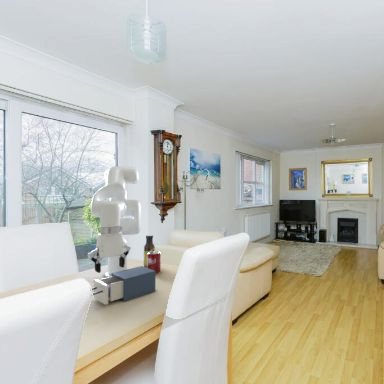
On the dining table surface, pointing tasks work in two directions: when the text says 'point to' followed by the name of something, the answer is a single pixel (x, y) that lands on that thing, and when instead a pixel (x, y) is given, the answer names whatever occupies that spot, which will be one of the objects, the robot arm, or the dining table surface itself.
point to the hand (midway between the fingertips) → (110, 269)
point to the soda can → (154, 261)
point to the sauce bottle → (148, 248)
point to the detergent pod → (108, 290)
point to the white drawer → (102, 289)
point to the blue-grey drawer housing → (136, 281)
